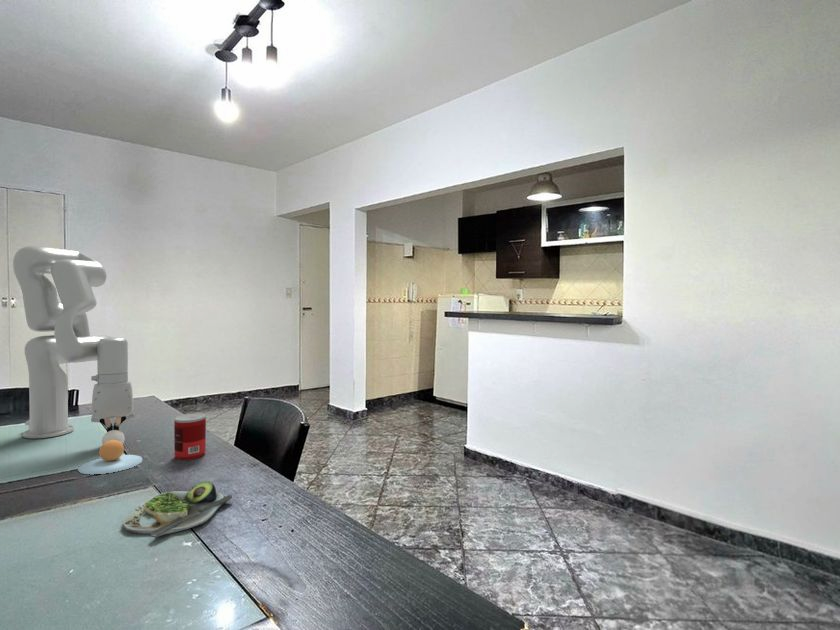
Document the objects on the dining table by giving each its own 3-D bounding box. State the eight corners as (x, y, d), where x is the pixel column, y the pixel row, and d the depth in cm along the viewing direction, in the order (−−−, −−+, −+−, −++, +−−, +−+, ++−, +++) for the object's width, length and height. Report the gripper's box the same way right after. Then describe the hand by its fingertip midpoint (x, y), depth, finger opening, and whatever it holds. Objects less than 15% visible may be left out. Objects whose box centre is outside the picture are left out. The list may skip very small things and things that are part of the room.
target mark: (64, 470, 112) (64, 470, 112) (115, 453, 126) (115, 452, 126) (106, 477, 109) (106, 477, 109) (154, 458, 122) (154, 458, 122)
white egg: (97, 431, 127) (96, 451, 126) (115, 429, 127) (114, 449, 126) (111, 430, 133) (111, 449, 132) (129, 428, 132) (129, 447, 131)
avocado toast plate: (198, 545, 80) (198, 520, 80) (97, 545, 80) (97, 520, 80) (238, 498, 100) (238, 477, 100) (157, 498, 99) (157, 477, 99)
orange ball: (94, 445, 120) (93, 459, 116) (113, 432, 121) (112, 446, 117) (110, 454, 123) (110, 468, 119) (128, 442, 124) (128, 455, 120)
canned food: (211, 451, 129) (211, 413, 128) (194, 461, 121) (194, 421, 120) (186, 450, 129) (186, 412, 129) (168, 459, 122) (168, 419, 121)
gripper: (80, 382, 126) (81, 446, 127) (142, 378, 134) (142, 438, 135) (82, 378, 132) (83, 439, 133) (141, 374, 141) (141, 432, 141)
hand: (113, 438), depth 134 cm, fingers closed
